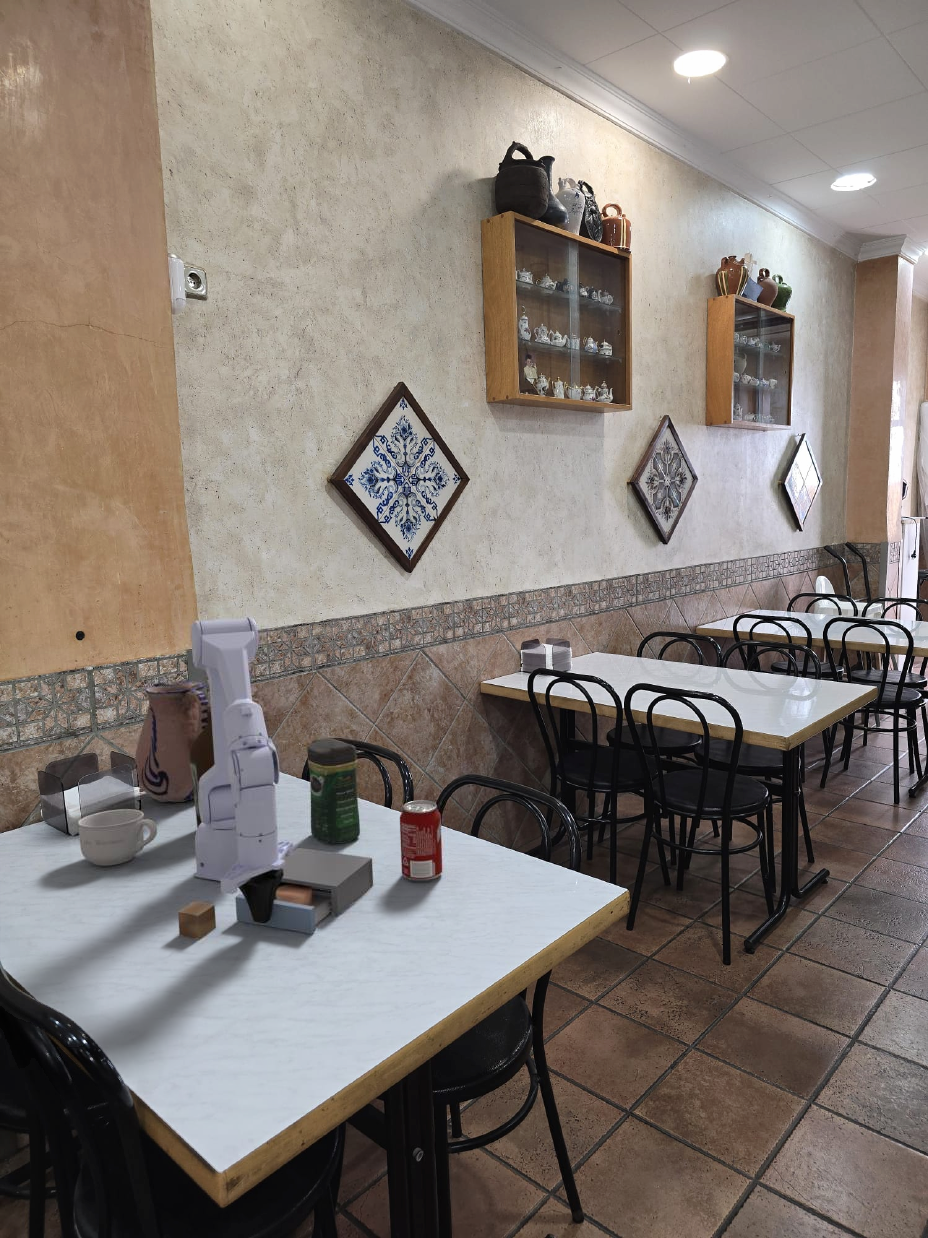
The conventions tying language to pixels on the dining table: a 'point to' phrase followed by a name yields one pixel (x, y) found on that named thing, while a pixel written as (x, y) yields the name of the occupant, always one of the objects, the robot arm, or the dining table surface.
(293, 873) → the box
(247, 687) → the robot arm
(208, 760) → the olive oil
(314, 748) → the coffee jar
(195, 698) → the ceramic pitcher
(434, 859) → the soda can
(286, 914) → the tray
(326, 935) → the dining table surface
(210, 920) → the brown cube block
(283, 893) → the cylinder
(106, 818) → the teacup
